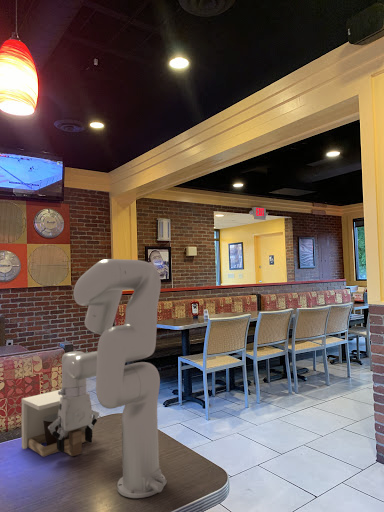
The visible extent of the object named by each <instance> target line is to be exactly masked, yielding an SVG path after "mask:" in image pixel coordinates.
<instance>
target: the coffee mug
mask: <svg viewBox="0 0 384 512" xmlns="http://www.w3.org/2000/svg"><path fill="white" fill-rule="evenodd" d="M57 418H58V413H56V414H51V415H48V416H46V417H44V418H43V422H44V430H45V438H46V442H45V446H48V445H51V444H54V443H57V438H56V437H55V436H53V435H52V434H51V432H50V431H49V429H48V426H49V425H50V424H52V423H53V422H54V421H55V420H56V419H57ZM58 429H59V428H58V425H57V426H56V427H55V431H56V432H57V431H58ZM63 439H64V440H66V439H69V435H68V432H66V433H65V434H64V436H63Z"/></svg>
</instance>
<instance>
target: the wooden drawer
mask: <svg viewBox="0 0 384 512" xmlns="http://www.w3.org/2000/svg"><path fill="white" fill-rule="evenodd" d="M43 443H46V438H45V434H42V435H39V436H36V437H33V438H29V439H28V447H27V448H29V449H30V450H32V451H34V452H35V453H37V454H39V456H41V457H48V456H49V455H52V454H55V453H58V452H59V451H58V449H57V443H54V444H51V445H48V446H46V445H45V446H44V445H42V444H43ZM83 443H87V441H86V440H85V433H84V432H82V431H81V430H80V429H76V430H72V431H69V432H68V439H66V440H64V452H63V453H65V454H67V455H69V456H72V457H75V456H78V455H81V454H82V452H83V448H82V447H83Z"/></svg>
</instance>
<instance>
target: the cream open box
mask: <svg viewBox="0 0 384 512" xmlns="http://www.w3.org/2000/svg"><path fill="white" fill-rule="evenodd" d="M61 390H62V388H60V389H58V390H57V389H56V390H53V391H49V392H44V393H39V394H37V395H32V396H28V397H22V398H21V449H22V450H26V449H28V448H29V447H28V439H29V438H33V437H36V436H39V435H42V434H45V430H44V422H43V418H44V417H46V416H48V415H51V414H56V413H58V408H59V402H60V397H62V395H59V394H58V391H61ZM88 393H89V396H90V392H88ZM85 428H86V426H85V427H82V428H79V429H80V430H81V431H82V432H84V433H85ZM87 442H88V441H86V443H87ZM88 443H89V442H88Z"/></svg>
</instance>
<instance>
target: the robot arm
mask: <svg viewBox="0 0 384 512" xmlns="http://www.w3.org/2000/svg"><path fill="white" fill-rule="evenodd" d="M161 285H162V283H161V276H160V273H159V271H158V269H157V268H156V267H155V266H154V265H153V264H152V263H150V262H148V261H146V260H139V259H123V258H122V259H121V258H120V259H119V258H118V259H117V258H107V259H105V258H103V259H101V260H99V261H97V262H96V263H95V264H94V265H93V266H91V267H90V268H89V269H88V270H86V271H85V272H84V273H83V274H82V275H81V276H80V277H79V278H78V280H77V281H76V283H75V285H74V287H73V288H74V289H73V299H74V301H75V303H76V304H77V305H79V306H81V307H87V306H88V308H87V312H86V315H85V317H84V318H85V319H84V326H85V328H87V329H88V330H89V331H90V332H91V333H95V334H97V335H99V339H98V342H97V343H98V344H97V350H96V351H91V352H86V353H85V352H84V351H81V350H80V351H78V350H77V351H69V352H65V353H63V355H62V357H61V389H62V390H61V389H60V390H61V391H58V394H59V395H62V397H60V402H59V408H58V418H57V419H56V420H55V421H54V422H53V423H52V424H50V425H49V426H48V429H49V431H50V432H51V434H52V435H53V436H55V437H56V438H57V449H58V452H60V453H65V452H64V439H63V436H64V434H65V433H66V432H69V431H72V430H76V429H79V428H82V427H85V426H86V428H85V440H86V442H87V441H88V443H92V442H93V429H94V428H95V425H96V424H97V421H98V418H99V415H100V412H98V411H96V410H93V409H92V402H91V397H90V396H89V393H90V392H87V379H91V378H94V377H95V390H96V391H95V392H96V398H97V399H98V400H97V401H98V403H99V404H100V406H102V408H105V409H109V410H111V409H117V408H119V407H123V406H124V407H123V409H122V414H121V453H122V477H120V478H119V479H118V481H117V482H116V483H117V484H116V489H117V493H119V494H120V495H121V496H123V497H126V498H130V499H142V498H148V497H151V496H153V495H156V494H157V493H161V492H163V489H164V488H165V486H166V485H167V482H168V480H167V479H166V477H165V475H164V474H163V473H162V469H161V468H160V462H159V461H160V460H159V459H160V457H159V455H160V454H159V429H158V427H159V426H158V399H159V392H160V385H161V383H160V382H161V379H160V373H159V371H158V369H157V367H156V366H155V365H154V364H152V363H151V362H145V361H140V362H134V361H139V360H143V359H147V358H148V357H151V356H152V355H153V354H154V353H155V351H156V344H157V343H156V342H157V326H158V324H157V323H158V306H159V299H160V294H161V288H162V287H161ZM123 291H133V293H132V295H130V298H129V299H128V301H127V304H126V306H125V320H124V324H121V325H114V322H115V318H116V315H117V312H118V308H119V305H120V301H121V299H122V295H123ZM113 325H114V326H113ZM129 362H134V363H130V364H126V363H129ZM57 425H58V428H59V429H58V431H57V432H56V431H55V427H56V426H57Z"/></svg>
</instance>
